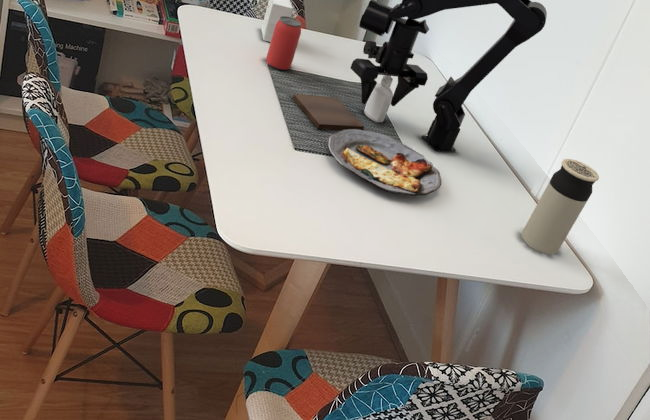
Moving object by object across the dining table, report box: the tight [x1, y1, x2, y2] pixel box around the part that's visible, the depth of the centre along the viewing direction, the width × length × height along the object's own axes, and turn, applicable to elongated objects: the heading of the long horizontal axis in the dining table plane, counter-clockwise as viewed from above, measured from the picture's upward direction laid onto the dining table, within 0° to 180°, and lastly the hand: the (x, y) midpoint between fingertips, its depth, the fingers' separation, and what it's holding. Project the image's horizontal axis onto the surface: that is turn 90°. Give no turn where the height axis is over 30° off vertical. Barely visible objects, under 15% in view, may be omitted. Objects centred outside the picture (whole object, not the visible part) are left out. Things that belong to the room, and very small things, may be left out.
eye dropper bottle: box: [363, 75, 394, 123], centre depth 175 cm, size 4×6×12 cm
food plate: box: [328, 129, 443, 197], centre depth 155 cm, size 25×23×4 cm
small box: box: [260, 0, 294, 43], centre depth 200 cm, size 8×6×10 cm
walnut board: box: [292, 93, 365, 131], centre depth 171 cm, size 14×12×1 cm
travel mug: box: [520, 158, 600, 255], centre depth 145 cm, size 8×8×18 cm
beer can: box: [265, 16, 302, 71], centre depth 184 cm, size 7×7×12 cm
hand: (377, 104), depth 176 cm, fingers closed on eye dropper bottle, 8 cm apart
